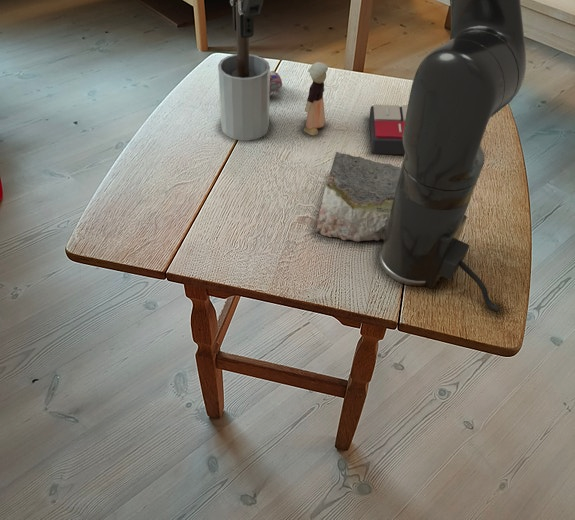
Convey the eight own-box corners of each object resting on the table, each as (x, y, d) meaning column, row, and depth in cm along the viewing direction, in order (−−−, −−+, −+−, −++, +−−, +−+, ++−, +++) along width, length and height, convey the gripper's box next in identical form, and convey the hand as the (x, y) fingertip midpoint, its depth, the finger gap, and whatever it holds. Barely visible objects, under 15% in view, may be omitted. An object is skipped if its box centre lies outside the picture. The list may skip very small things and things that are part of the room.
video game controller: (232, 106, 108) (234, 86, 101) (228, 86, 109) (230, 64, 103) (281, 101, 110) (286, 81, 103) (276, 82, 111) (281, 60, 105)
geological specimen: (402, 161, 87) (393, 219, 77) (394, 192, 92) (384, 251, 81) (336, 148, 89) (319, 203, 78) (331, 178, 93) (313, 235, 82)
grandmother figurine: (321, 140, 99) (327, 75, 90) (300, 136, 99) (304, 72, 90) (327, 117, 104) (334, 53, 95) (307, 114, 105) (312, 50, 95)
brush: (259, 99, 97) (260, 0, 85) (245, 108, 95) (244, 9, 82) (242, 91, 99) (240, -7, 86) (227, 100, 96) (223, 1, 84)
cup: (277, 124, 102) (279, 64, 93) (249, 146, 97) (248, 84, 88) (241, 108, 105) (239, 48, 96) (211, 129, 100) (207, 67, 91)
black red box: (370, 101, 102) (452, 103, 101) (368, 122, 105) (448, 124, 104) (373, 136, 94) (461, 138, 93) (370, 156, 97) (456, 159, 96)
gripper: (287, -78, 72) (282, 48, 85) (247, -107, 80) (248, 12, 93) (233, -73, 70) (237, 56, 83) (198, -103, 78) (206, 18, 91)
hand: (243, 32), depth 88 cm, fingers closed on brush, 2 cm apart
